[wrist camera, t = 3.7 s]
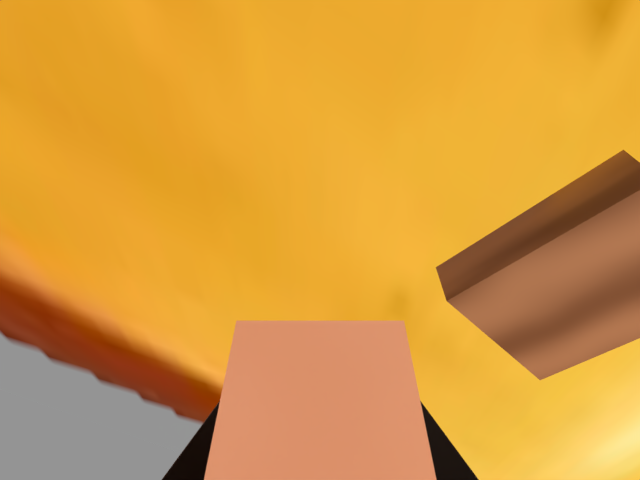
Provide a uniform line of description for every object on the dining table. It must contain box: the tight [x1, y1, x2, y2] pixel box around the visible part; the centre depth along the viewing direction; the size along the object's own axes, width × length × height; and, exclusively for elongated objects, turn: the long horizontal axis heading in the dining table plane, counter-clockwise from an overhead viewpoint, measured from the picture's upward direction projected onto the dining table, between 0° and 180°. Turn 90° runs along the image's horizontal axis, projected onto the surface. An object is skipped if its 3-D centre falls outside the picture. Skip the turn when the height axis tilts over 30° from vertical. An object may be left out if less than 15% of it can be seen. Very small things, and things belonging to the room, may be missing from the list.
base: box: [436, 150, 640, 380], centre depth 22 cm, size 10×10×2 cm
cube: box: [204, 321, 436, 480], centre depth 12 cm, size 5×5×5 cm
